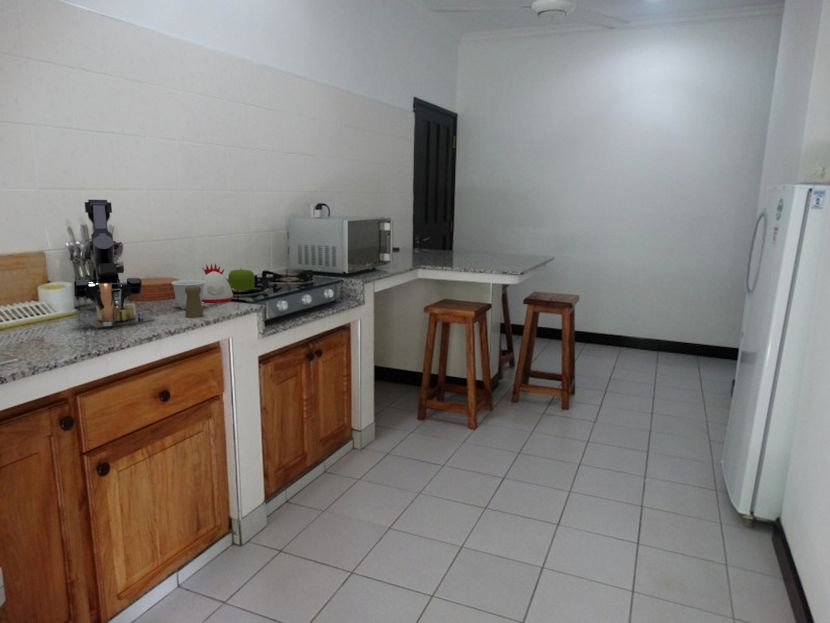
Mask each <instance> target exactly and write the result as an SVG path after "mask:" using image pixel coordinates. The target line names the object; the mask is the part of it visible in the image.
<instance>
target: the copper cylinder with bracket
mask: <svg viewBox="0 0 830 623" xmlns="http://www.w3.org/2000/svg"><path fill="white" fill-rule="evenodd" d="M99 291H100V301H101V305H102V310H100V309H99V308H98V307H97V305H95V307H96V308H97V309H96V316H97V319H98V320H101V321H102V322H103V324H104V326H112V325H113V324H114V323H115V322H116V321H120V320H122V321H123V320H128V319H133V318H135V317H136V312H137V311H136V303H134V302H133V303H126V302H125V303H124V306H123V309H122V310H121V309H120V306H113V297H112V285H111V283H110V282H103V283H99ZM112 327H113V326H112Z"/></svg>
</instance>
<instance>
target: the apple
mask: <svg viewBox="0 0 830 623" xmlns="http://www.w3.org/2000/svg"><path fill="white" fill-rule="evenodd" d="M227 281H228V282H229V284H230V287H231V288H234V289H239V290H249V289H253V288H254V289H255V274H254V272H253V271H252V270H249V269H242V267H240V269H233V270H231V271H230V272H229V273H228V278H227Z"/></svg>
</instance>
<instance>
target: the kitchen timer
mask: <svg viewBox="0 0 830 623" xmlns="http://www.w3.org/2000/svg"><path fill="white" fill-rule="evenodd" d="M202 269H203V272H204V273H205V275H204V277H203V278H202V279H201V280H204V281H205V282H206V283H205V284H204V288H203V299H202V302H204V303H203V304H208V303H215V304H224V303H223V302H226V303H229V302H228V301H231V300H232V298H233V299H234V293H233V292H232V290H231V287H230V284H229V281H228V278H226V277H225V276H224V275H223V274H224V271H225V268H223V269H222V271H221V266H220V265H219V266H218V267H217V264H216V263H214V267H213V264H212V263H210V268H209V266H208V265H207V264H205V268H204V267H203V266H202ZM231 302H232V301H231Z"/></svg>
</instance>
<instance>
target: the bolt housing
mask: <svg viewBox="0 0 830 623" xmlns="http://www.w3.org/2000/svg"><path fill="white" fill-rule="evenodd" d="M113 306H120V309H121V299H115V300H113ZM121 310H122V309H121ZM78 320H79V321H82V322H84V323H85V324H87V325H89V324H90V325H89V326H92V327H93V328H95V329H104V328H103V327H105V328H111V327H110V326H104V324H103V322H102V321H101V320H98V319H97V315H95V316H86V317H85V316H84V317H79V318H78ZM154 320H155V321H156V319H155V318H153V317H150V316H148V315H146V314H145V315H144V312H142V311H141V312H140V311H139V312H137V311H136V317H135V318H133V319H128V320H123V321H122V320H120V321H116V322H115V323H114V324H113V325H112V327H117V326H116V325H120V326H124V324H127V325H133V324H134V323H135V324H142V323H147V322H148V321H150V322H155V321H154ZM135 324H134V325H135Z"/></svg>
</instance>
